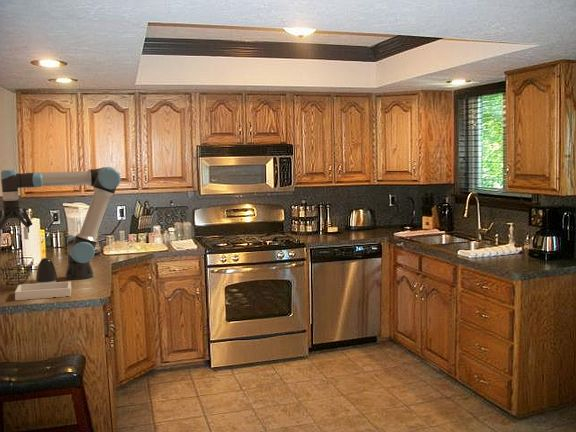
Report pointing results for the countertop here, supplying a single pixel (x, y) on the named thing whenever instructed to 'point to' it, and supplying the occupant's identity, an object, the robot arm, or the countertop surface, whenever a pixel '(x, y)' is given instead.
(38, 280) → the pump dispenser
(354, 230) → the countertop surface
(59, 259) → the countertop surface
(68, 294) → the box
